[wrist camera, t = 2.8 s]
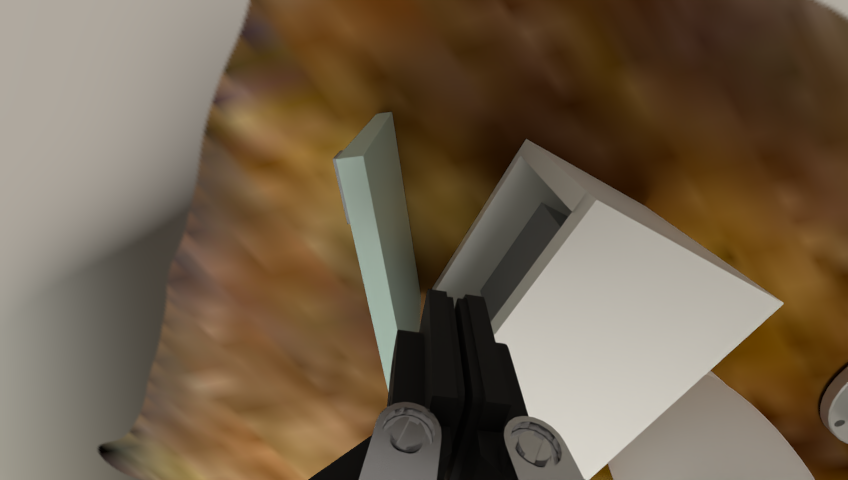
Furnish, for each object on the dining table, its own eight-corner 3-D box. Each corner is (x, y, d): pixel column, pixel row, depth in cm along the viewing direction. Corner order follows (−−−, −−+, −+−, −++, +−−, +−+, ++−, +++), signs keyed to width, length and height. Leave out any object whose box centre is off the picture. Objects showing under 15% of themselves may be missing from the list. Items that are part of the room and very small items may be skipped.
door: (391, 111, 25) (363, 155, 14) (420, 296, 31) (416, 428, 20) (364, 115, 25) (314, 162, 14) (398, 298, 31) (381, 431, 20)
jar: (595, 308, 31) (721, 500, 18) (716, 326, 32) (928, 525, 18) (555, 403, 36) (631, 614, 22) (662, 417, 36) (800, 631, 23)
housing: (644, 205, 28) (784, 303, 17) (531, 344, 33) (581, 485, 22) (526, 138, 26) (596, 199, 15) (426, 297, 31) (425, 426, 20)
